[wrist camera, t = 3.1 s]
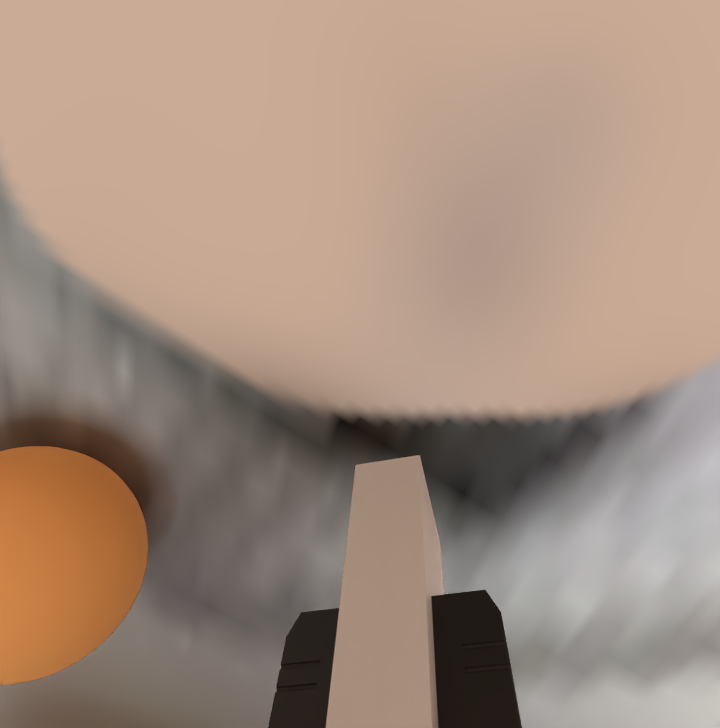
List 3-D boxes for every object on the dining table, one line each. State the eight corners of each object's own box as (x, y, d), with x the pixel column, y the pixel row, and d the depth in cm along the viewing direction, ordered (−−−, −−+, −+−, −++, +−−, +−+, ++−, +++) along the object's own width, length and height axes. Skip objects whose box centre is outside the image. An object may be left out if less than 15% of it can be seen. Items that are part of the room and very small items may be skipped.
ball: (204, 545, 19) (130, 728, 14) (42, 568, 20) (-85, 748, 15) (132, 389, 17) (8, 539, 11) (-50, 423, 18) (-243, 577, 12)
